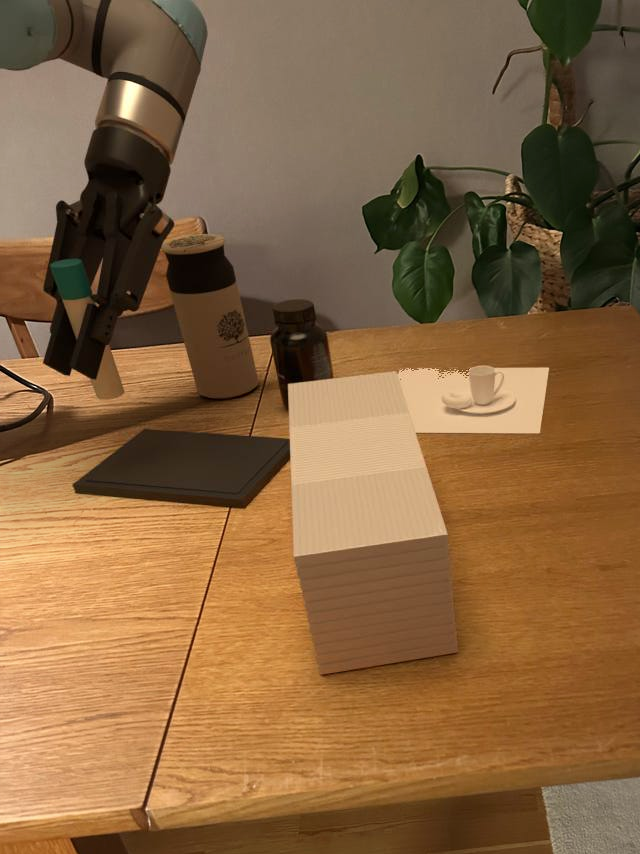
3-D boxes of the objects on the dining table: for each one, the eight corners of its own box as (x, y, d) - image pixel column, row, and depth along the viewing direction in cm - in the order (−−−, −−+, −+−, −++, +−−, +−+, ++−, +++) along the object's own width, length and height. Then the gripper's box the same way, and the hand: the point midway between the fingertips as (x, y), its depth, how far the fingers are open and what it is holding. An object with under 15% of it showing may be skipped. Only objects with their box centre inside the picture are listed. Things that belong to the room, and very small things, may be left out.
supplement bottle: (272, 409, 104) (250, 311, 96) (303, 389, 109) (285, 293, 101) (317, 417, 101) (299, 316, 94) (348, 396, 106) (333, 298, 99)
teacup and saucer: (439, 416, 100) (436, 383, 97) (449, 390, 106) (446, 358, 103) (512, 417, 99) (511, 383, 96) (518, 390, 105) (517, 358, 102)
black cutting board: (75, 492, 89) (71, 483, 89) (146, 436, 100) (144, 427, 99) (244, 508, 85) (241, 498, 84) (300, 447, 95) (299, 438, 95)
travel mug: (187, 389, 111) (146, 243, 100) (241, 372, 115) (208, 229, 103) (215, 405, 106) (175, 254, 95) (270, 387, 110) (238, 239, 98)
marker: (90, 399, 87) (43, 266, 79) (106, 388, 89) (62, 258, 81) (114, 400, 86) (69, 267, 78) (130, 389, 88) (88, 258, 80)
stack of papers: (458, 652, 65) (447, 533, 58) (320, 675, 64) (293, 556, 57) (407, 469, 90) (396, 370, 83) (307, 482, 88) (287, 383, 82)
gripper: (220, 174, 84) (158, 396, 83) (101, 171, 90) (41, 379, 89) (171, 121, 77) (102, 362, 76) (44, 121, 83) (-22, 346, 81)
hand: (69, 371), depth 82 cm, fingers closed on marker, 3 cm apart
